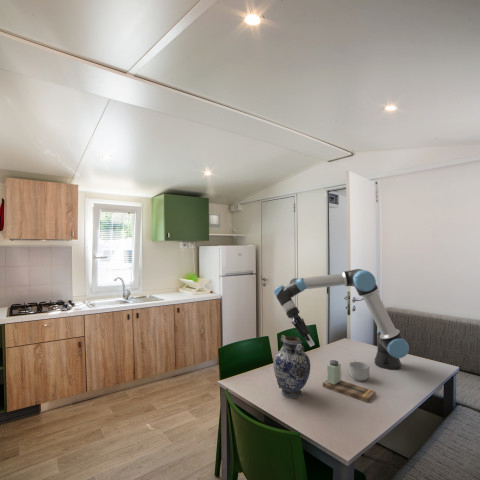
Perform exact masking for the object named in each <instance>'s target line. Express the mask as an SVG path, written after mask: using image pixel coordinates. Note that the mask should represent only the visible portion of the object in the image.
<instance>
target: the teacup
mask: <svg viewBox="0 0 480 480" xmlns="http://www.w3.org/2000/svg"><path fill="white" fill-rule="evenodd" d="M348 367H349V369H348V370H349V376H351V378H352V379H354V380H355V381H358V382H364V381H366V380H368V379H369V378H370V365H369V364H368V363H367V362H363V361H357V360H352V362H349V364H348Z"/></svg>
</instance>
